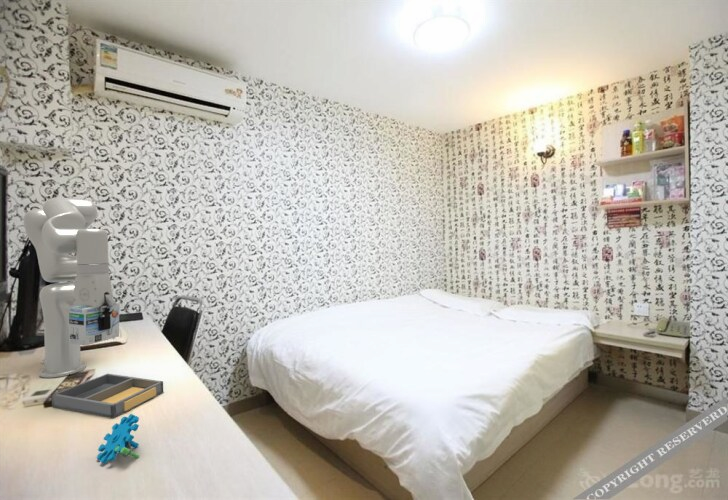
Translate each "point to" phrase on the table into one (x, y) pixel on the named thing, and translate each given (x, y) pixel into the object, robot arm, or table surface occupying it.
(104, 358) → the table surface
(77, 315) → the light bulb box
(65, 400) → the bay tray
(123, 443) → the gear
